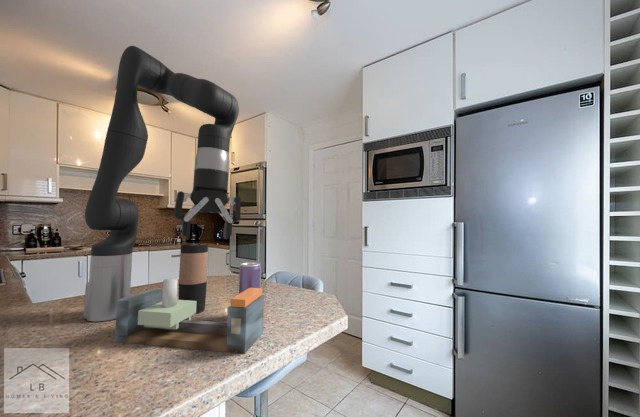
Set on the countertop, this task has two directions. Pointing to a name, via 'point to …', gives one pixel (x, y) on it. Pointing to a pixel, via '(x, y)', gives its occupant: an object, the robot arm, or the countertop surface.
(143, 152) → the robot arm
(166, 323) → the carriage
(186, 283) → the travel mug
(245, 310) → the rail base
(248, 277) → the beverage can
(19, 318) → the countertop surface
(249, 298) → the orange rectangular bar
